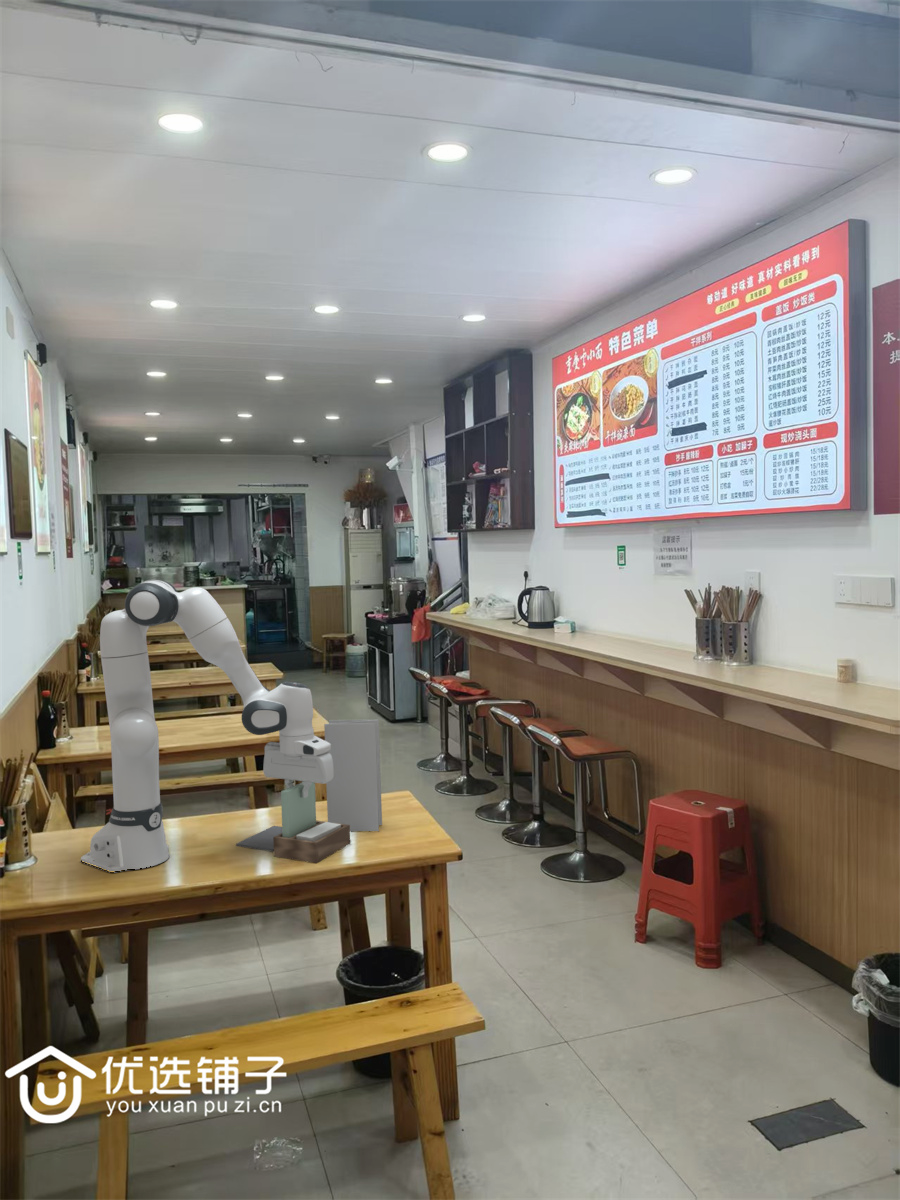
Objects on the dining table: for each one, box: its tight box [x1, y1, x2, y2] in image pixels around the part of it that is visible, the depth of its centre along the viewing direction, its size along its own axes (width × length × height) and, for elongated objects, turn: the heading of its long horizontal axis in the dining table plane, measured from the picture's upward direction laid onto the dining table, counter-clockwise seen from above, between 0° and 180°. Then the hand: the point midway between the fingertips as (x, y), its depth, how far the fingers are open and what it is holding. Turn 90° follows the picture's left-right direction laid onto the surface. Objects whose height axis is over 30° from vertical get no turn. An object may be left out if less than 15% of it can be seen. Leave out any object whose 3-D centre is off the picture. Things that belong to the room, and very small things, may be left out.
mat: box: [236, 825, 282, 853], centre depth 231 cm, size 12×16×1 cm
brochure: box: [323, 719, 383, 832], centre depth 237 cm, size 14×6×30 cm, turn 84°
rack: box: [273, 819, 351, 864], centre depth 221 cm, size 13×16×5 cm
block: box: [280, 781, 317, 838], centre depth 223 cm, size 2×12×16 cm, turn 154°
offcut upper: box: [296, 821, 341, 842], centre depth 221 cm, size 5×12×3 cm, turn 150°
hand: (298, 796), depth 222 cm, fingers closed on block, 2 cm apart
